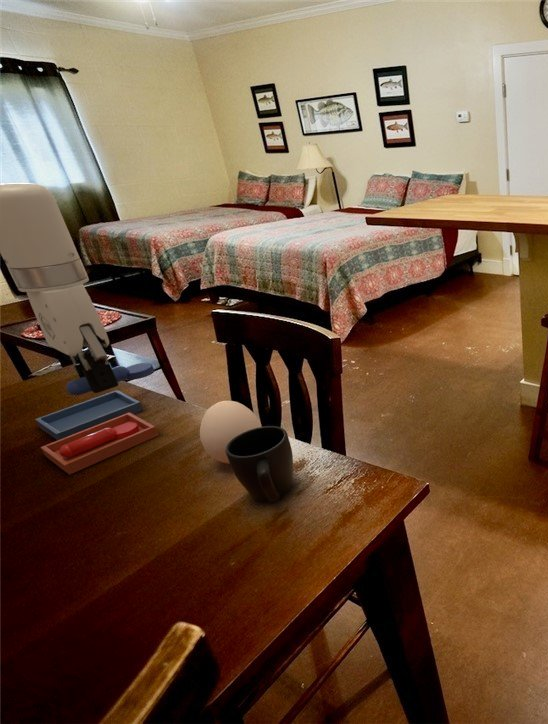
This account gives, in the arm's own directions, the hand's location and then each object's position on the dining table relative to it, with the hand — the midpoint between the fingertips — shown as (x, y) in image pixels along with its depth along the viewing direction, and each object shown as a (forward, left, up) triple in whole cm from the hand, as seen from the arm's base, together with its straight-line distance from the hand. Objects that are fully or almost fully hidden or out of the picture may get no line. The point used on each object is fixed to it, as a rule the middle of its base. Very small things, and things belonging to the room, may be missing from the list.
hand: (101, 385), depth 76 cm
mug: (+6, -30, -15) cm, 34 cm away
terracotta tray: (-1, +10, -15) cm, 18 cm away
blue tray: (+2, +23, -15) cm, 27 cm away
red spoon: (0, +10, -14) cm, 17 cm away
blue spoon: (+2, 0, 0) cm, 2 cm away
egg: (+9, -16, -15) cm, 24 cm away
